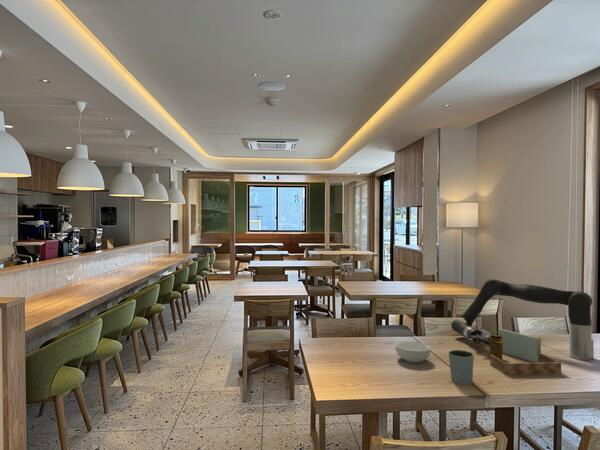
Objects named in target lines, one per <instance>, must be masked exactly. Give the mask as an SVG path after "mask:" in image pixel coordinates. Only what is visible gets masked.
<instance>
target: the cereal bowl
mask: <svg viewBox="0 0 600 450" xmlns="http://www.w3.org/2000/svg"><path fill="white" fill-rule="evenodd" d="M431 351H432V350H431V347H430V345H429V344H425V343H421V342H415V341H414V342H413V341H403V342H398V343H396V344H395V352H396V355H397V356H398V357H399V358H401V359H403V360H405V361H406V362H409V363H414V364H416V363H421V362H422V361H425V360H427V359H428V358H429V357H430V355H431Z"/></svg>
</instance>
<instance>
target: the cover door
mask: <svg viewBox="0 0 600 450" xmlns="http://www.w3.org/2000/svg"><path fill="white" fill-rule="evenodd" d="M497 332H498V333H497V334H498V335H501V338H502V354H506V355H510V356H513V357H516V358H519V359H523V360H526V361H529V362H531V363H540V362H541V358H540V354H542V353H541V352H542V346H541V345H542V341H541V337H536V336H531V335H528V334H523V333H519V332H515V331H512V330H511V331H510V330H506V329H503V328H498V330H497Z"/></svg>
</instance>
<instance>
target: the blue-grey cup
mask: <svg viewBox="0 0 600 450" xmlns="http://www.w3.org/2000/svg"><path fill="white" fill-rule="evenodd" d="M474 357H475V354H474V353H473V352H471V351H468V350H461V349H452V350H450V351H449V352H448V358H449V367H450V370H449V372H450V379H451V382H453V383H454V384H457V383H458V385H462V384H464V385H463V386H465V385H467V384H469V385H472V384H473V381H474V380H473V378H474V376H473V374H474V369H473V368H474V359H475V358H474ZM471 383H472V384H471ZM467 386H468V385H467Z"/></svg>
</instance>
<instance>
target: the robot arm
mask: <svg viewBox="0 0 600 450" xmlns="http://www.w3.org/2000/svg"><path fill="white" fill-rule="evenodd" d="M494 296H500V297H501V296H502V297H503V296H504V297H513V298H515V299H518V300H521V301H526V302H531V303H535V304H536V303H537V304H548V305H549V304H550V305H551V304H552V305H554V304H555V305H556V304H558V305H565V306H568V310H567V311H568V312H567V313H568V318H569V357H570V358H573V359H577V360H581V361H590V360H594V353H595V352H594V351H595V350H594V340H593V339H592V318H591V307H592V305H593V299H592V297H591V295H590V294H588V293H587V292H584V291H573V290H572V291H571V290H561V289H556V288H552V287H551V288H550V287H546V286H540V285H534V284H522V283H520V284H519V283H517V284H516V283H511V282H505V281H500V280H498V279H492V278H491V279H487V280H486V281H485V282H484V284H483V285H482V287H481V289H480V290H479V293H478V294H477V296H476V297H475V299H474V300H473V301H472V303H470V304H469V306H468V307H467V309H465V311H464V312H463V314H462V316H461V317H462V319H463V320H465V321H466V322H463V321H462V320H460V319H454V320H453V321H452V322H451V323H450V327H451V329H452V330H453V331H454V332H456V333H458V334H459V335H461V336H463V337H464V338H466V339H467V340H468V341H469V342H472V343H473V344H483V345H486V346H489V340H490V335H489V336H487V335H484V334H483V333H484V332H482V331H481V330H480V329H477V328H476V327H473V323H474V322H475V320H476V319H477V318H478V317H479V316H480V314H481V313H482V311H483V309H484V307H485V305H486V304H487V303H488V301H489V300H491V298H492V297H494Z"/></svg>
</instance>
